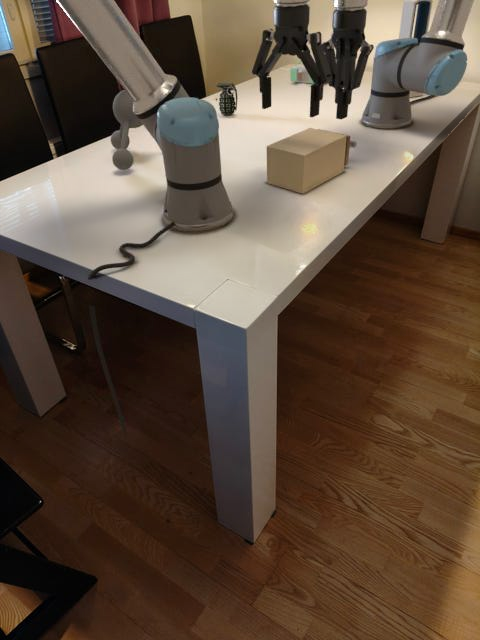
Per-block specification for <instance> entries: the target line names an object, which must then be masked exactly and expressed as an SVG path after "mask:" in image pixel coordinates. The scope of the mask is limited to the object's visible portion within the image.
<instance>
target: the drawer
mask: <svg viewBox="0 0 480 640" xmlns="http://www.w3.org/2000/svg"><path fill="white" fill-rule="evenodd" d="M317 129H318V130H321V129H319V128H317ZM322 130H323V131H326V130H325V129H322ZM327 131H328V132H331V131H329V130H327ZM332 132H333V133H337V134H342V135H347V137H346V149H345V161H344V167H345V166H348V165H349V157H350V149H351V148H352V149H356V147H357V146H358V145H357V144H358V142H357V141H354V140H351V135H349V134H344V133H339V132H336V131H335V132H334V131H332Z"/></svg>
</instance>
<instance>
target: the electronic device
mask: <svg viewBox="0 0 480 640" xmlns="http://www.w3.org/2000/svg"><path fill="white" fill-rule="evenodd" d="M432 7H433V0H403V4H402V9H401V11H402V12H401V18H400V24H399V25H400V26H399V32H398V33H399V34H398V39H402V38H417V39H418V44H417V45H419V44H420V41H421V38H422V36H423V35H425V34H426V33H427V32H429V25H430V19H431V14H432ZM422 95H424V94H423V93H418V92H414V91H410V94H409V98H415V97H421V96H422Z"/></svg>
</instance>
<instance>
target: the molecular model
mask: <svg viewBox="0 0 480 640" xmlns="http://www.w3.org/2000/svg"><path fill="white" fill-rule="evenodd" d="M112 112H113V115H114V117H115V119H116V121H117V122H118V123H120V127H119V129H118V130H115V131H114V132H113V133H111V136H110V144H111V145H112V147H113V148H114V149H115V151H114V152H113V153H112V156H111V160H112V163H113V165H114V167H115V168H117V169H118V170H121V171H128V170H129V169H131V167H132V166H133V164H134V156H133V153H131V151H130V150H128V147H129V146H130V141H131V140H130V136H129V133H130V129H138V128H141V127H142V126H144V125H143V124H142V123H141V121H140V120H139V119H138V117H137V116H136V115H135V114H134V112H133V99H132V98H131V97H130V95H129V94H128V93H127V92H126V90H125V89H123V90H121V91H119V92H118V93H117V94H116V95H115V97H114V99H113V102H112Z"/></svg>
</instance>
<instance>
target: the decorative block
mask: <svg viewBox="0 0 480 640" xmlns="http://www.w3.org/2000/svg"><path fill="white" fill-rule="evenodd" d="M314 61H315V59H314ZM336 61H337V60H336ZM315 63H316V62H315ZM290 82H294V83H302V84H303V83H305V84H312V85H314V82H313V81H312V79H311V77H310V75H309V74H308V72H307V70H306V68H305V67H304V65H303V63H302V61H296V62H295V65H293V66H292V67H291V68H290ZM327 83H328V84H329V82H327ZM327 83H326V84H327Z"/></svg>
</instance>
